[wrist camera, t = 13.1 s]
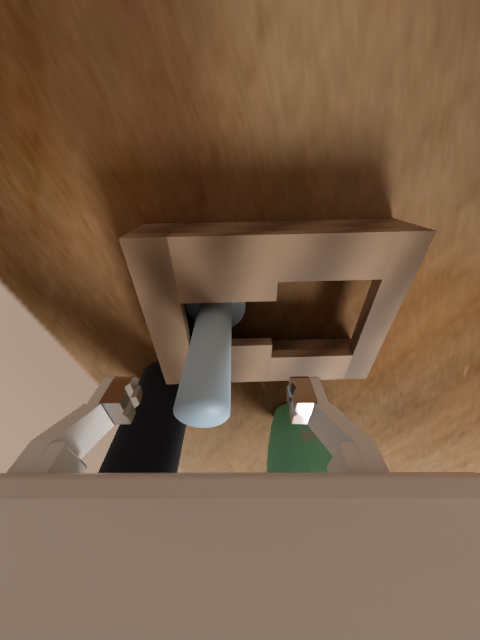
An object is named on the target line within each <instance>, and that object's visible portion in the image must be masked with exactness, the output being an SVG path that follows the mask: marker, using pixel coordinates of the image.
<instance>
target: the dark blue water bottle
mask: <svg viewBox="0 0 480 640" xmlns="http://www.w3.org/2000/svg"><path fill="white" fill-rule="evenodd" d="M138 385H139V386H141V388H142V399H141V401H140V404H139V405H138V406H137V407H136V408H135V410H136V413H135V416H134V418H133V420H132V423H131V424H120V426H119V428H118V430H117V432H116V435H115V437H114V439H113V441H112V443H111V445H110V448H109V450H108V452H107V454H106V457H105V459H104V461H103V463H102V466H101V468H100V470H99V472H98V473H177V470H178V465H179V460H180V454H181V449H182V444H183V439H184V433H185V428H186V424H184V423H182V422H180V421H179V420H178V419H177V418H176V417H175V416H174V413H173V407H174V403H175V400H176V396H177V392H178V388H179V384H166V382H165V379H164V376H163V373H162V370H161V367H160V364H159V362H158V363H154V364H152V365H150V366H148V367H147V368H146V370H145V371H144V372H143V375H142V377H141V379H140V381H139V384H138Z"/></svg>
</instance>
